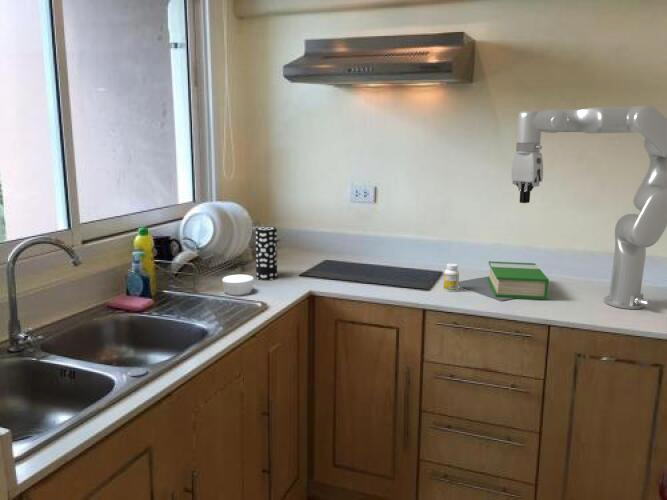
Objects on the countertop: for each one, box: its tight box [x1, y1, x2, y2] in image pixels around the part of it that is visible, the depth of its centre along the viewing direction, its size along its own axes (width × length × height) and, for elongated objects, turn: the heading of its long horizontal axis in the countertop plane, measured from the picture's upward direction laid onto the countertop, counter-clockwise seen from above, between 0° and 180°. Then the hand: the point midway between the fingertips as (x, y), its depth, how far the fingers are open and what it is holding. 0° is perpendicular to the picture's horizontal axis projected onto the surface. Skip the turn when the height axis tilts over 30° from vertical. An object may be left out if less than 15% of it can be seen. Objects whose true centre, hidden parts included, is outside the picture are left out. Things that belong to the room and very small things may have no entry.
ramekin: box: [221, 273, 255, 296], centre depth 207 cm, size 11×11×5 cm
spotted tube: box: [254, 226, 278, 281], centre depth 225 cm, size 8×8×20 cm
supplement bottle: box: [443, 263, 460, 292], centre depth 212 cm, size 5×5×10 cm
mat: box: [458, 275, 517, 302], centre depth 217 cm, size 26×24×1 cm
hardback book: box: [487, 260, 550, 300], centre depth 214 cm, size 18×7×24 cm
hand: (524, 202), depth 195 cm, fingers closed
